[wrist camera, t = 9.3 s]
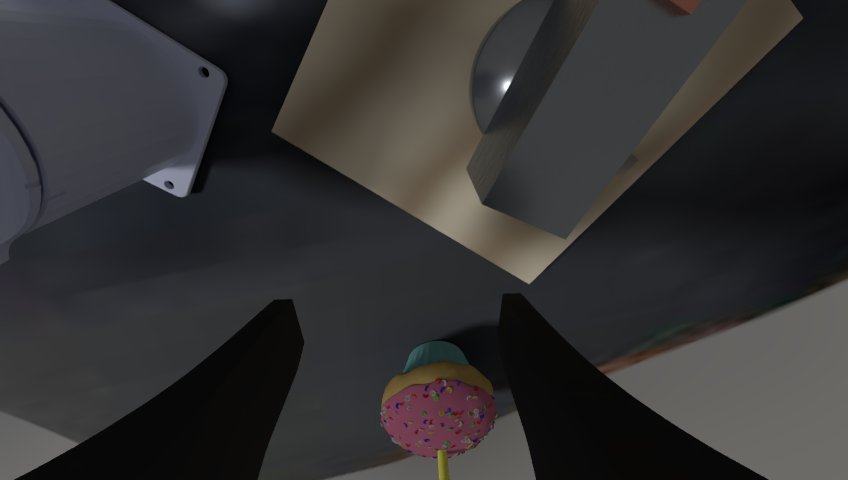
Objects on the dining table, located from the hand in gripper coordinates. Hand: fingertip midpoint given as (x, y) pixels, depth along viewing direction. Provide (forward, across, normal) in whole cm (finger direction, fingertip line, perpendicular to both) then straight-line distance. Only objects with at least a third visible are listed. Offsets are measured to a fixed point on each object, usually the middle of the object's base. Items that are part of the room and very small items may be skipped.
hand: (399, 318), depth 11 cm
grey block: (+6, -6, -7) cm, 11 cm away
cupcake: (+11, -2, +15) cm, 18 cm away
